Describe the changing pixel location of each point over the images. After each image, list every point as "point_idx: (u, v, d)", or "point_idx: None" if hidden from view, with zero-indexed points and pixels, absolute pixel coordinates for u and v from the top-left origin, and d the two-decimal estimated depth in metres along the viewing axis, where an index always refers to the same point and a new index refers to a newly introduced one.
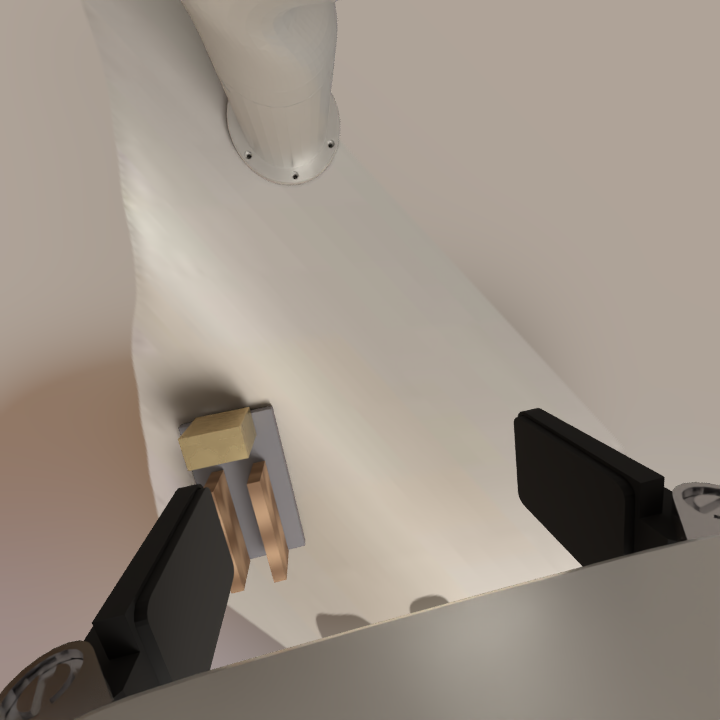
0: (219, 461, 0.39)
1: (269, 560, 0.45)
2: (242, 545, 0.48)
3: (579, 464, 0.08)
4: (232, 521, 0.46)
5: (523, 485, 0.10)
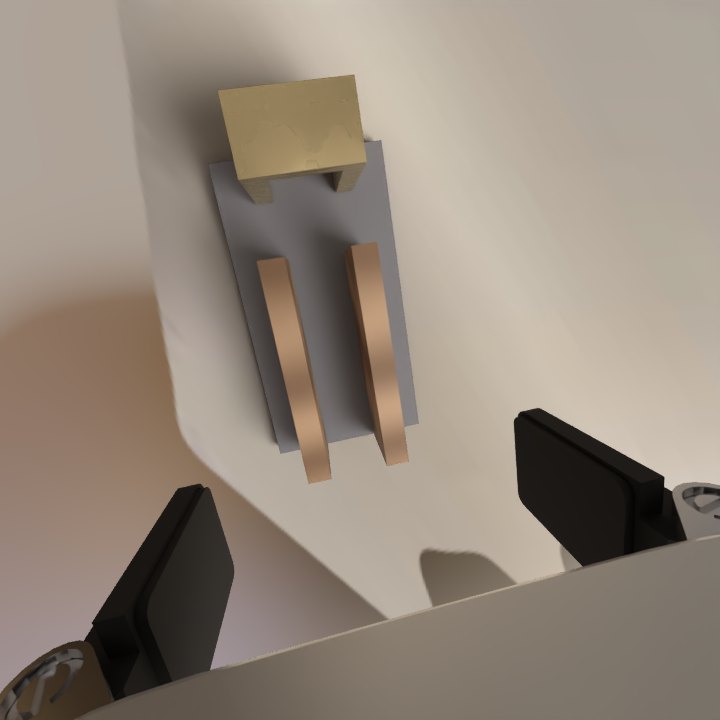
0: (305, 163, 0.18)
1: (382, 419, 0.23)
2: None
3: (579, 464, 0.08)
4: (307, 354, 0.25)
5: (523, 485, 0.10)
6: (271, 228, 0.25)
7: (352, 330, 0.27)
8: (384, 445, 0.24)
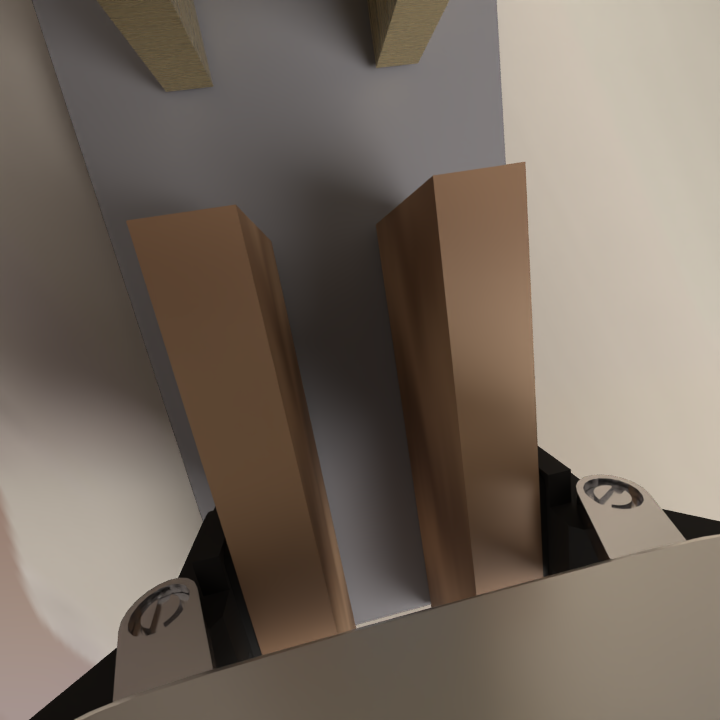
0: None
1: None
2: (343, 582, 0.12)
3: None
4: (316, 476, 0.10)
5: None
6: (210, 161, 0.10)
7: None
8: None
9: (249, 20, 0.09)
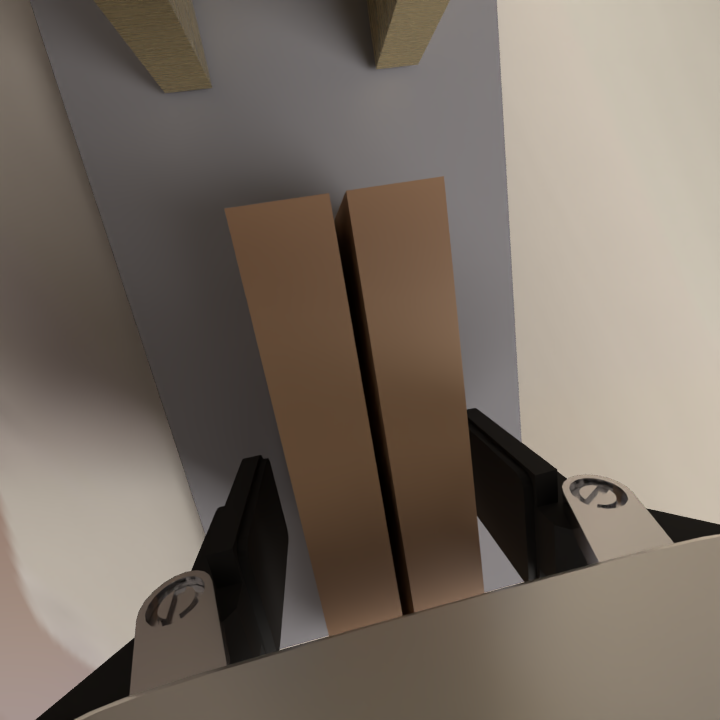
0: None
1: None
2: None
3: (495, 459, 0.08)
4: None
5: None
6: (209, 163, 0.10)
7: None
8: None
9: (248, 21, 0.09)
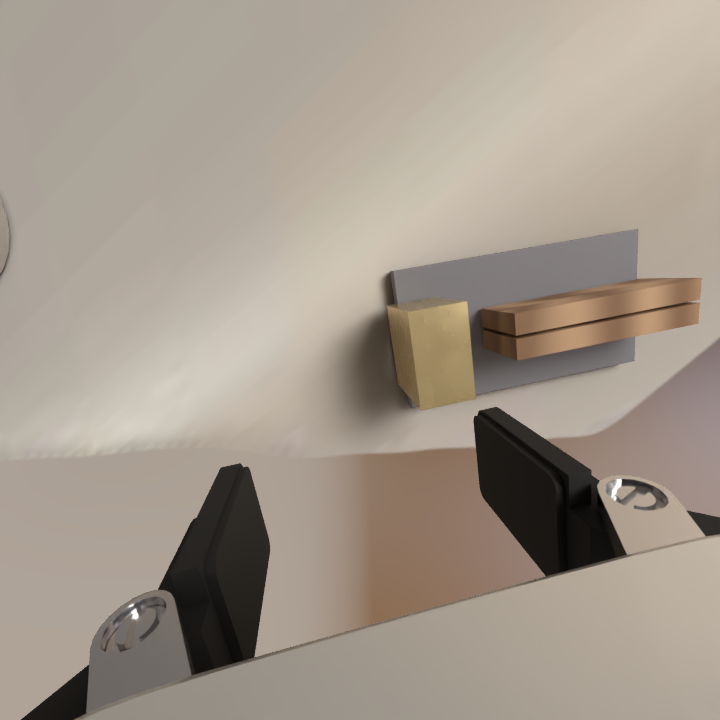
0: (466, 350, 0.23)
1: (658, 305, 0.26)
2: None
3: (523, 459, 0.08)
4: None
5: (483, 480, 0.11)
6: None
7: (543, 296, 0.30)
8: (680, 302, 0.26)
9: None
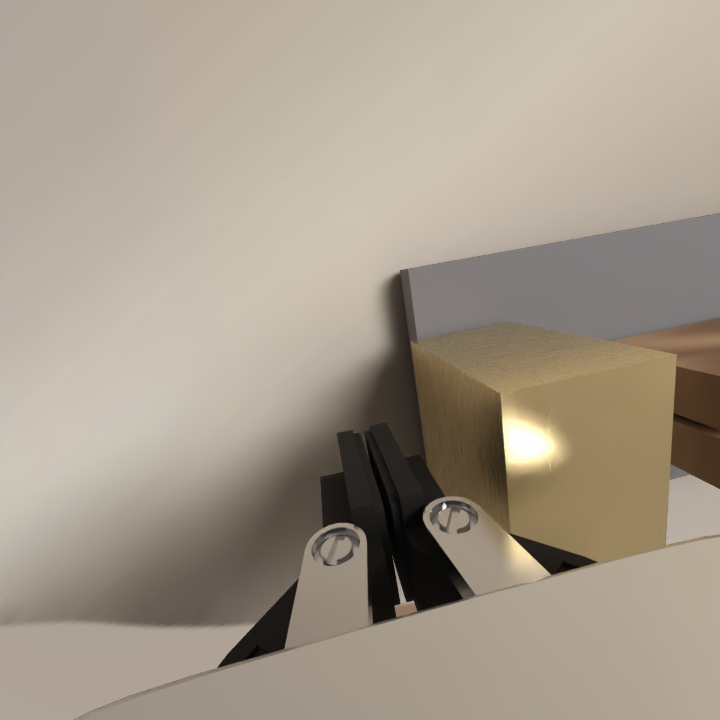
0: (656, 489, 0.08)
1: None
2: None
3: (380, 478, 0.08)
4: None
5: None
6: None
7: (706, 318, 0.15)
8: None
9: None
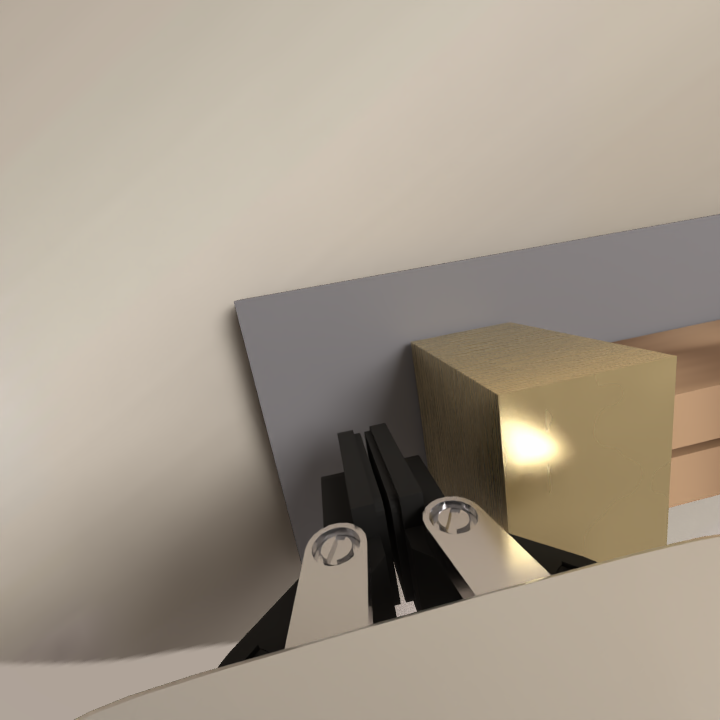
0: (656, 491, 0.08)
1: None
2: None
3: (380, 478, 0.08)
4: None
5: None
6: None
7: None
8: None
9: (314, 466, 0.14)
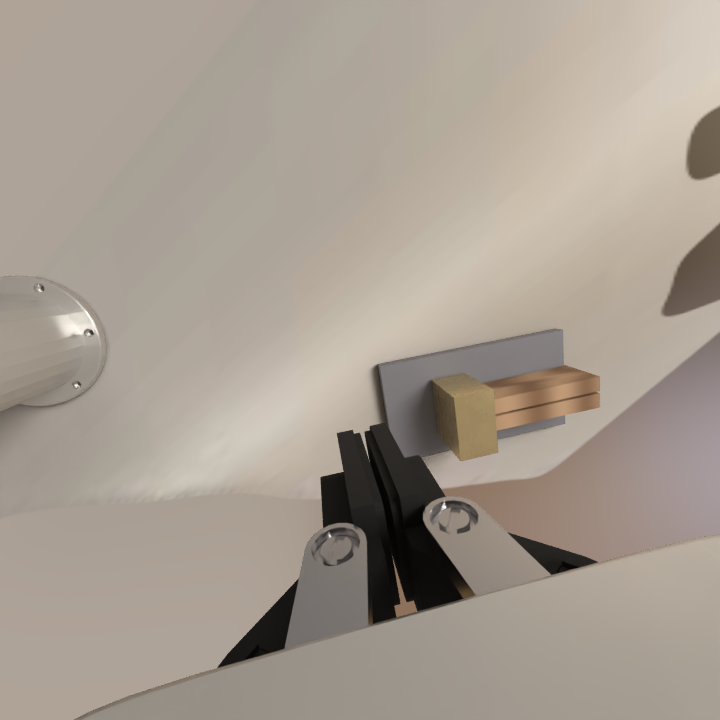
0: (492, 420, 0.34)
1: (569, 396, 0.36)
2: None
3: (381, 478, 0.08)
4: None
5: None
6: (429, 430, 0.40)
7: (492, 380, 0.40)
8: (585, 393, 0.36)
9: (401, 421, 0.40)
